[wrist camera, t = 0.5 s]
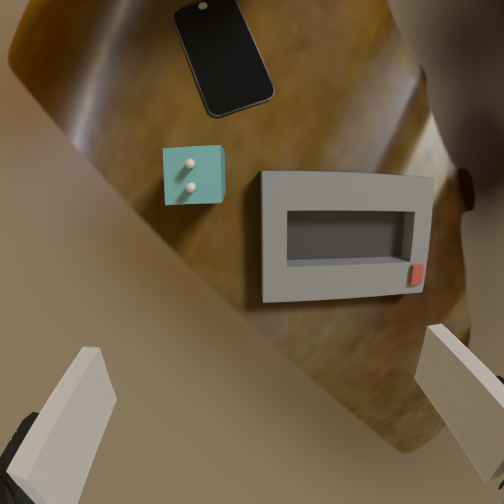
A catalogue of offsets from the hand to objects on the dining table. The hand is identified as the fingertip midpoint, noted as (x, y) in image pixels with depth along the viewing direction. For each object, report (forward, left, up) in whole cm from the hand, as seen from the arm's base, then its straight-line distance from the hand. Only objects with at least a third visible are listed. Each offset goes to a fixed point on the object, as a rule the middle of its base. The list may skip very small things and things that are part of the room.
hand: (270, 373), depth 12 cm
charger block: (-7, -4, -25) cm, 27 cm away
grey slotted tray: (0, +12, -25) cm, 28 cm away
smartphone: (-21, -2, -26) cm, 33 cm away
